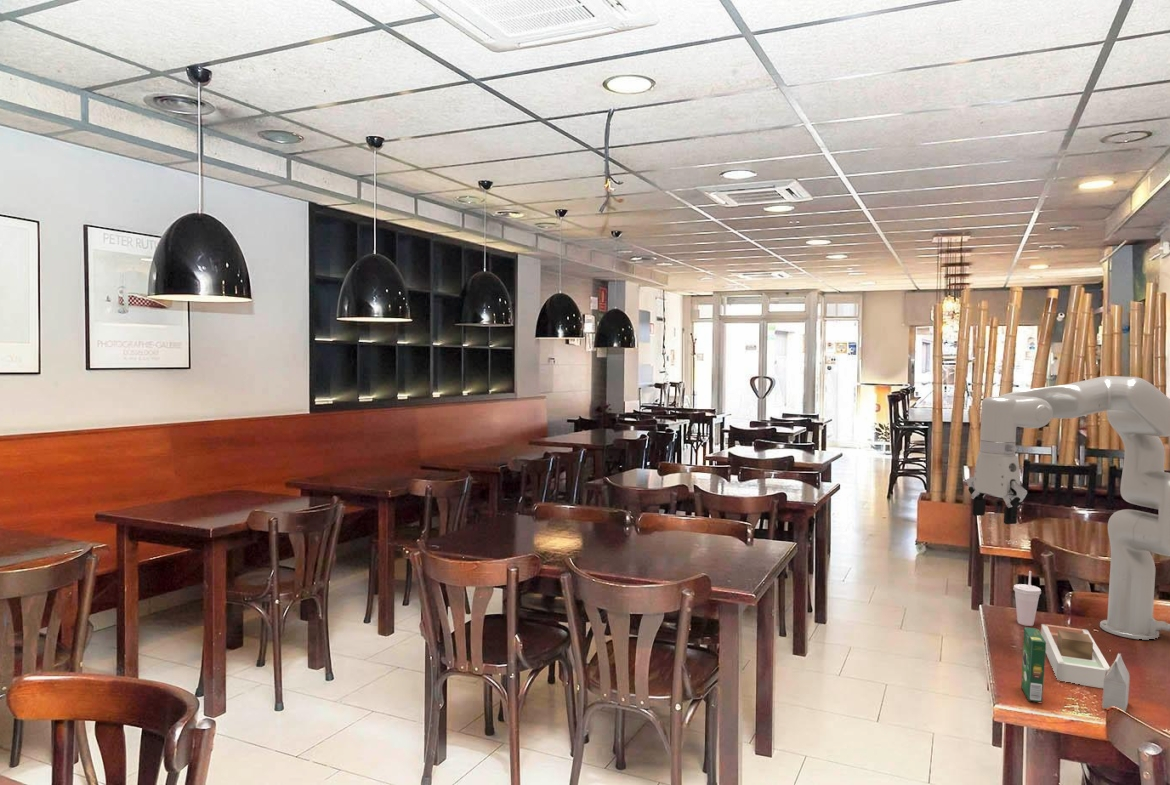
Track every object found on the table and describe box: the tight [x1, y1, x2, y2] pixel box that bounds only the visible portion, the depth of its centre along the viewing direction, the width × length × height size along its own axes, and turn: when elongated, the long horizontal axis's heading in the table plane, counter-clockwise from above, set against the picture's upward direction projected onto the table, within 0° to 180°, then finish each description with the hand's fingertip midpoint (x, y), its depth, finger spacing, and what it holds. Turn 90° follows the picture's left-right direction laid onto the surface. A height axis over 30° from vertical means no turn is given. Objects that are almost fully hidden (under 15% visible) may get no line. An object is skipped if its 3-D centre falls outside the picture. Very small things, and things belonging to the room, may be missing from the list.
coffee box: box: [1020, 626, 1046, 703], centre depth 163 cm, size 8×3×13 cm, turn 160°
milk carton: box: [1101, 652, 1131, 712], centre depth 159 cm, size 4×7×10 cm, turn 140°
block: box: [1057, 630, 1093, 660], centre depth 181 cm, size 6×6×4 cm
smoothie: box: [1013, 570, 1042, 627], centre depth 208 cm, size 6×6×14 cm
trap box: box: [1040, 623, 1111, 689], centre depth 182 cm, size 10×28×4 cm, turn 157°
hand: (993, 519), depth 189 cm, fingers open, 9 cm apart
